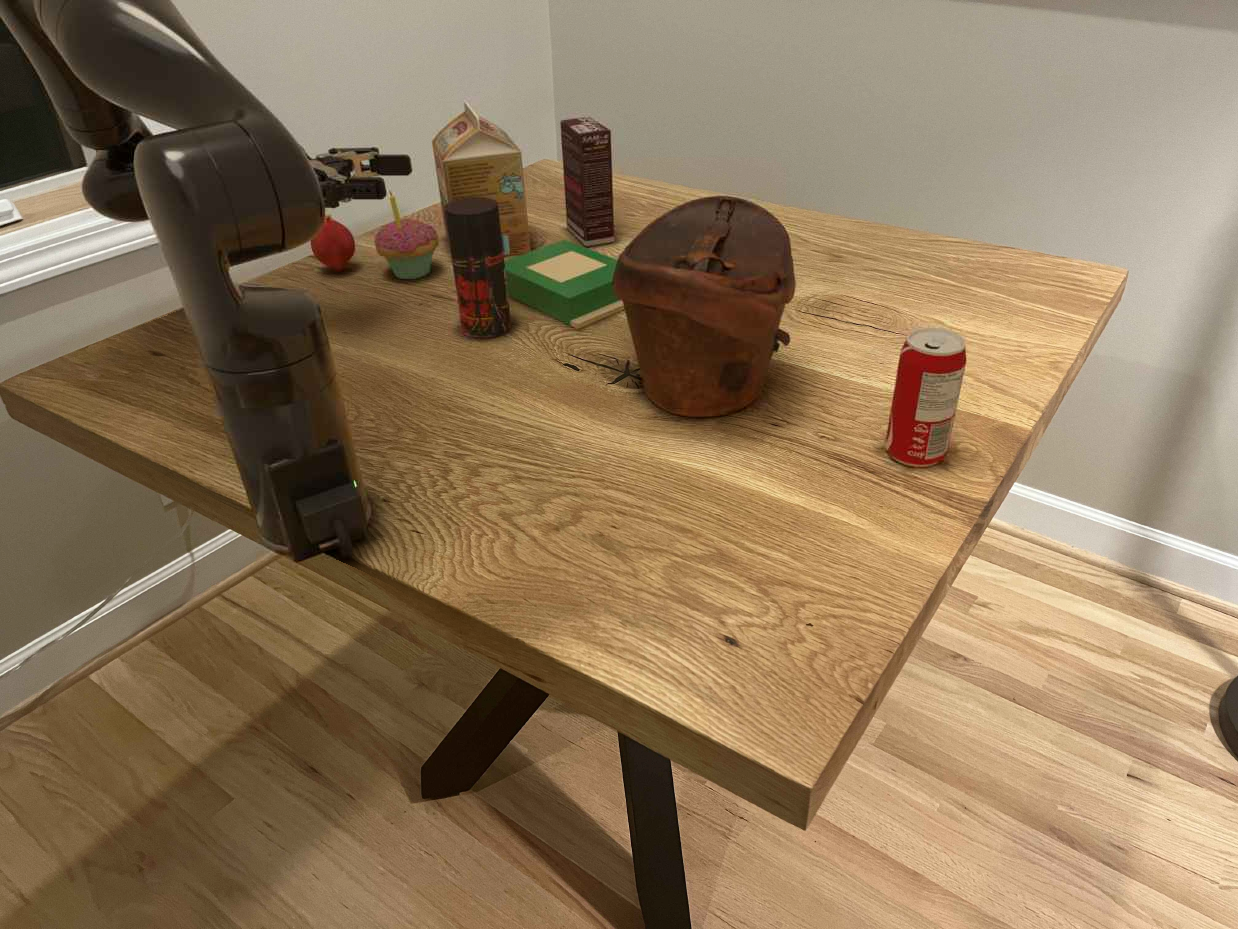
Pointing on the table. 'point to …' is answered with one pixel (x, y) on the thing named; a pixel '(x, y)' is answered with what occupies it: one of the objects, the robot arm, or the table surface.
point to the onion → (333, 244)
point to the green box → (565, 283)
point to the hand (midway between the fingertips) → (397, 176)
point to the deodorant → (478, 266)
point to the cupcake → (407, 245)
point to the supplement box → (588, 180)
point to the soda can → (925, 396)
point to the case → (706, 303)
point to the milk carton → (483, 173)
